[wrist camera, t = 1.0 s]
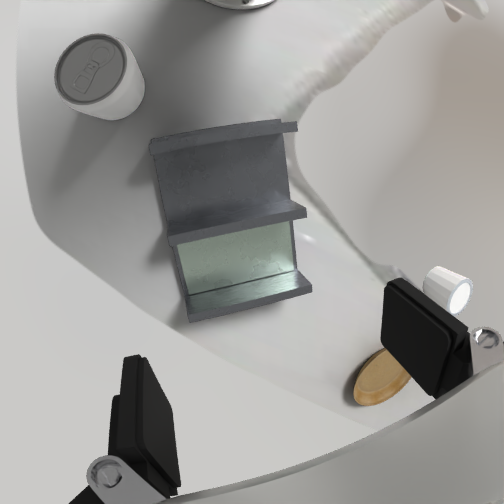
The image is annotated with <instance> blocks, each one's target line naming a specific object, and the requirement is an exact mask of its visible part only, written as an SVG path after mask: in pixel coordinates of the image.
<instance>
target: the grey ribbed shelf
mask: <svg viewBox="0 0 504 504" xmlns="http://www.w3.org/2000/svg"><path fill="white" fill-rule="evenodd" d="M297 131H298V128H297V121H295V122H285V123H281V119H274V120H265V121H257V122H249V123H241V124H234V125H227V126H221V127H214V128H208V129H202V130H197V131H191V132H186V133H181V134H175V135H171V136H166V137H161V138H156V139H152V140H151V143H152V144H149V149H150V155H154V160H155V165H156V170H157V176H158V181H159V186H160V191H161V196H162V201H163V205H164V210H165V215H166V219H167V224H168V232H167V237H168V241H169V246H173V250H174V254H175V258H176V262H177V266H178V270H179V274H180V278H181V282H182V286H183V290H184V294H185V300H186V307H187V315H188V318H189V322H190V323H191V322H196V321H200V320H205V319H209V318H213V317H217V316H222V315H226V314H230V313H234V312H238V311H242V310H246V309H250V308H254V307H258V306H262V305H266V304H270V303H274V302H278V301H281V300H285V299H289V298H293V297H296V296H300V295H304V294H307V293H311V292H312V284H311V283H310V282H309V281H308V280H307V279H306V278H305V277H304V276H303V275H302V274H301V273H300V272H299V271H298V269H297V262H296V251H295V240H294V230H293V220H296V219H301V218H306V217H307V212H306V208H305V207H303V206H301V205H300V204H298V203H296V202H294V201H292V200H290V191H289V182H288V174H287V165H286V157H285V149H284V141H283V133H287V132H297Z"/></svg>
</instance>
